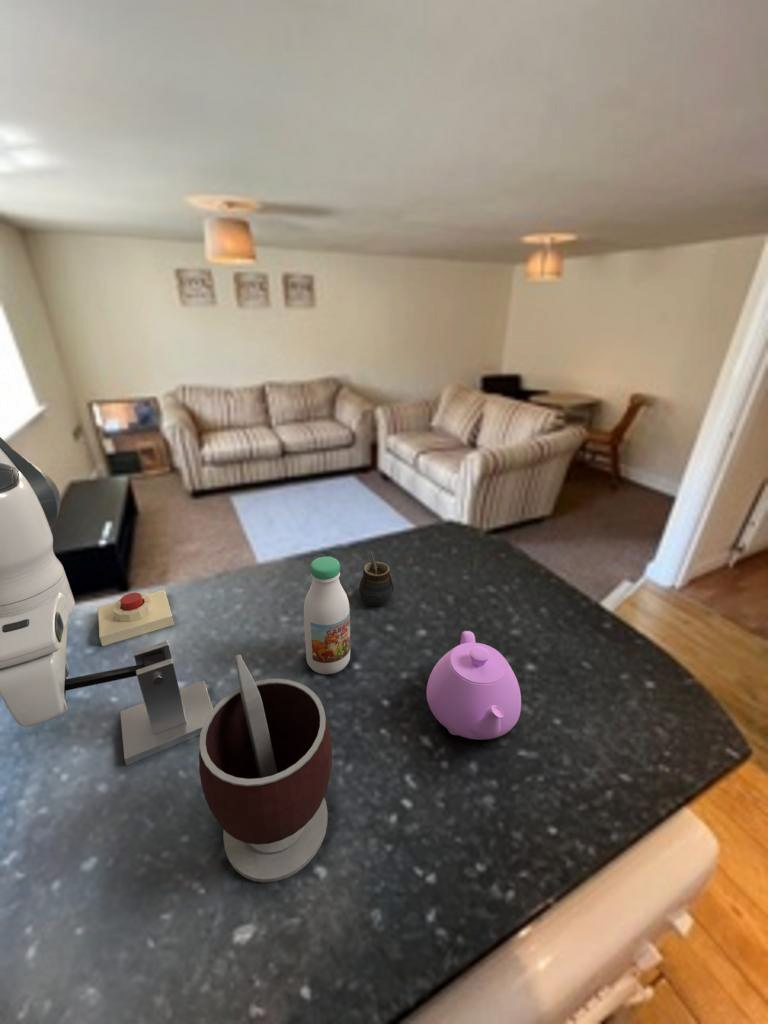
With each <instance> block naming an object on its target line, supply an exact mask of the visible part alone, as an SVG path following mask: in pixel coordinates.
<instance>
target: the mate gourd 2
mask: <svg viewBox="0 0 768 1024" xmlns="http://www.w3.org/2000/svg"><path fill="white" fill-rule="evenodd" d="M369 553H370V558H371V561H370V562H368V563H366V564H364V566H363V568H362V572H363V574H362V578H361V580H360V581H359V585H358V592H359V596H360V599H361V600H362V602H363V603H365V604H367V605H369V606H370V607H371V606H372V607H380V606H383V605H385V604H386V603H388V602H389V601H390V600H391V598H392V595H393V592H394V588H395V587H394V586H395V585H394V583H393V580H392V576H391V567H390V565H388V564H387V563H385V562H381V561H376V560H375V556H374V552H373V550H369Z"/></svg>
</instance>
